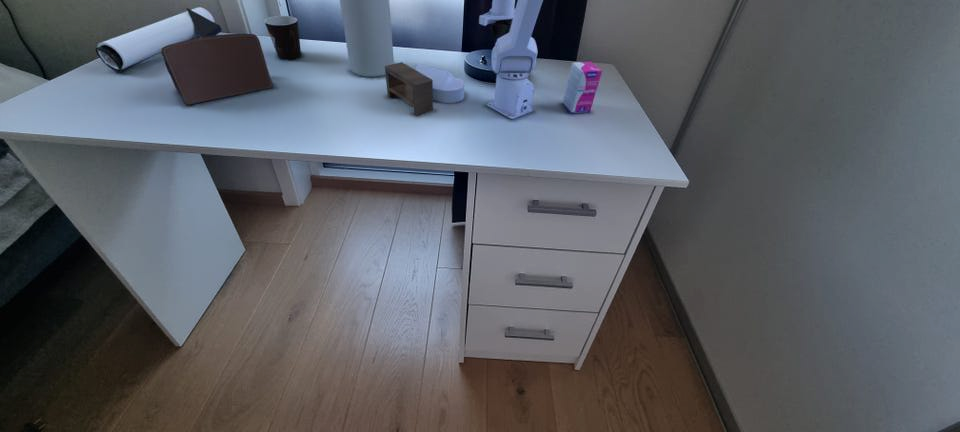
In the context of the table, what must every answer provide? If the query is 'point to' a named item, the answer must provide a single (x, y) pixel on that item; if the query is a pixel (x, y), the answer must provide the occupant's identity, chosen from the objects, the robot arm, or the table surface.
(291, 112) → the table surface
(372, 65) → the cylinder vase
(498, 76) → the robot arm
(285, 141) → the table surface
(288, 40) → the coffee mug
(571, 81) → the supplement box
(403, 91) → the walnut stand
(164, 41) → the diploma
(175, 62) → the letter holder
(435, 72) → the wedge on round base
